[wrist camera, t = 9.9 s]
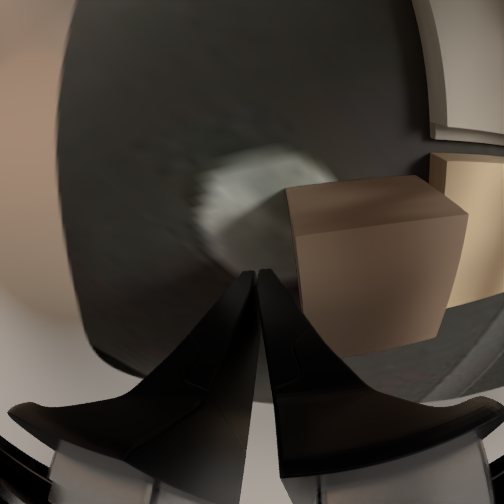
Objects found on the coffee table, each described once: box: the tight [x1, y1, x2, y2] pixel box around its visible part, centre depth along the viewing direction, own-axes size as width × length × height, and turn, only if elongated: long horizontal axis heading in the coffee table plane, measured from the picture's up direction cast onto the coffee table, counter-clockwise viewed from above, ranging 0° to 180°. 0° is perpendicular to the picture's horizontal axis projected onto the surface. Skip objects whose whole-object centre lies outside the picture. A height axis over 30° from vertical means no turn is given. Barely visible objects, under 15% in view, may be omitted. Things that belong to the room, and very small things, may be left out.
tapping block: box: [286, 175, 469, 358], centre depth 9 cm, size 5×5×4 cm
